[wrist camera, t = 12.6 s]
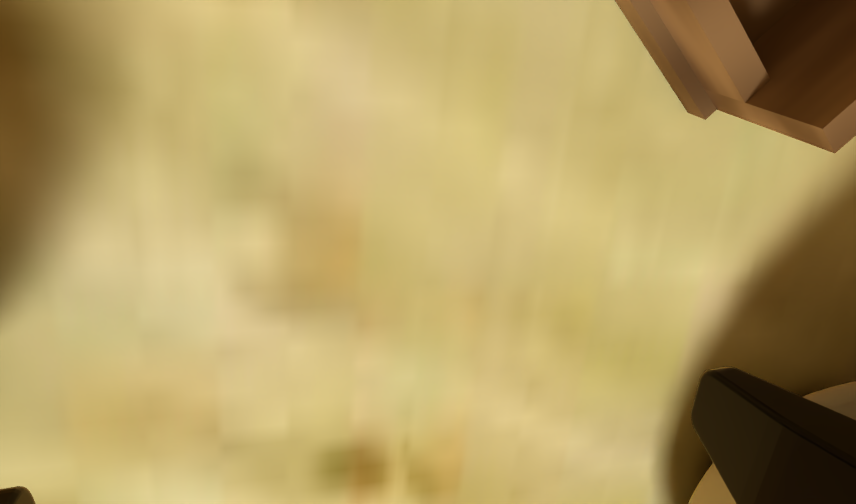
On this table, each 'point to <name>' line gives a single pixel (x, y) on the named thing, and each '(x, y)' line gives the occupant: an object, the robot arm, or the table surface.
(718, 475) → the pot
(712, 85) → the brown wooden tray
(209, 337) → the table surface
